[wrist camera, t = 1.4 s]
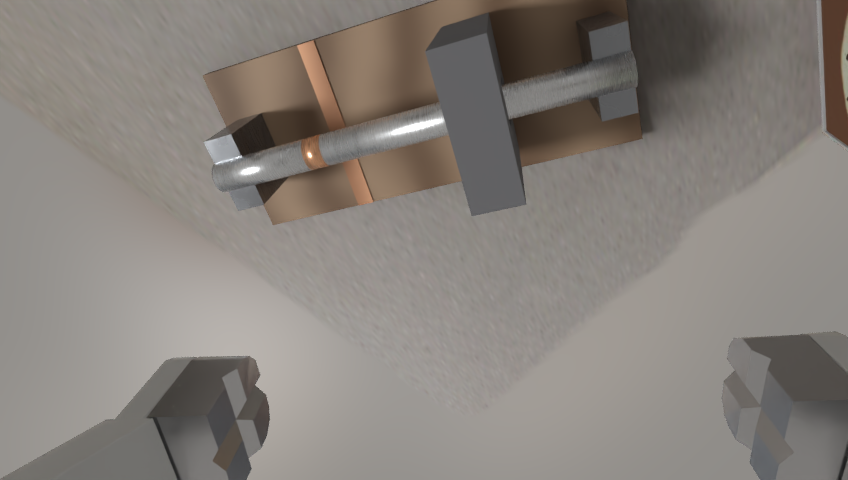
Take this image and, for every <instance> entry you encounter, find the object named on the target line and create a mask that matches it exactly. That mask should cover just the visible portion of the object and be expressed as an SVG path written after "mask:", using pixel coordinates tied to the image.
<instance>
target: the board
mask: <svg viewBox="0 0 848 480" xmlns="http://www.w3.org/2000/svg"><path fill="white" fill-rule="evenodd" d="M608 11H611V12H612V13H614V14H616V15H618V16H620V17H622V18H623V19H625V20H627V21H628V27H629V19H628V11H627V2H626V0H435V1H431V2H428V3H425V4H422V5H419V6H416V7H413V8H410V9H406V10H403V11H400V12H397V13H394V14H391V15H388V16H385V17H382V18H378V19H375V20H372V21H369V22H366V23H363V24H360V25H357V26H354V27H350V28H347V29H344V30H341V31H338V32H335V33H332V34H329V35H326V36H322V37H319V38H316V39H313V40H310V41H307V42H304V43H301V44H298V45H294V46H291V47H288V48H285V49H282V50H279V51H276V52H273V53H270V54H266V55H263V56H260V57H257V58H254V59H251V60H248V61H245V62H241V63H238V64H235V65H232V66H229V67H226V68H223V69H220V70H217V71H213V72H210V73H208V74H205V75H203V78H204V80H205V82H206V84H207V86H208V89H209V91H210V93H211V95H212V97H213V99H214V101H215V103H216V105H217V108H218V110H219V112H220V114H221V116H222V118H223V120H224V122H225V124H226V127H227V126H229V125H230V124H232V123H233V122H235V121H236V120H239V119H242V118H246V117H249V116H252V115H256V114H259V113H262V115H263V118H264V120H265V122H266V125H267V127H268V129H269V131H270V134H271V136H272V138H273V141H274V143H275V145H276V146H280V145H283V144H287V143H291V142H294V141H298V140H302V139H305V138H309V137H313V136H316V135H320V134H324V133H327V132H331V131H335V130H338V129H342V128H346V127H349V126H353V125H357V124H360V123H364V122H368V121H371V120H375V119H379V118H382V117H386V116H390V115H393V114H397V113H401V112H404V111H408V110H412V109H415V108H419V107H422V106H426V105H430V104H433V103H437V102H439V99H438V95H437V92H436V88H435V85H434V81H433V78H432V74H431V71H430V67H429V64H428V60H427V57H426V53H425V51H426V49H427V48H428V46H429V45H430V43H431V42H432V40H433V39H434V37H435V36H436V34H437V33H438V31H439V30H440V28H441V27H443V26H446V25H449V24H453V23H456V22H459V21H462V20H466V19H469V18H472V17H475V16H479V15H482V14H485V13H488V12H489V17H490V21H491V26H492V30H493V35H494V39H495V43H496V48H497V52H498V57H499V61H500V66H501V70H502V74H503V79H504V83H505V84H507V83H510V82H514V81H518V80H521V79H525V78H529V77H532V76H536V75H540V74H543V73H547V72H551V71H554V70H558V69H562V68H565V67H569V66H573V65H576V64H580V63H583V62H582V55H581V49H580V43H579V36H578V30H577V24H576V21H577V20H581V19H584V18H588V17H591V16H595V15H598V14H601V13H605V12H608ZM629 35H630V28H629ZM630 44H631V37H630ZM631 50H632V45H631ZM636 95H637V88H636ZM637 104H638V97H637ZM638 112H639V105H638ZM513 123H514V128H515V132H516V137H517V141H518V145H519V150H520V159H521V167H524V166H528V165H532V164H536V163H541V162H545V161H549V160H554V159H558V158H562V157H566V156H571V155H575V154H579V153H583V152H588V151H592V150H596V149H601V148H605V147H609V146H613V145H618V144H622V143H626V142H631V141H635V140H639V139H642V131H641V123H640V114H639V113H635V114H631V115H627V116H623V117H619V118H615V119H611V120H607V121H601V119H600V118H599V116H598V114H597V113H596V111H595V110H594V108H593V106H592V105H591V103H590V101H589V100H584V101H580V102H576V103H572V104H568V105H565V106H561V107H557V108H553V109H549V110H545V111H541V112H537V113H533V114H529V115H526V116H522V117H518V118H514V119H513ZM459 181H462V180H461V176H460V173H459V169H458V166H457V162H456V159H455V155H454V152H453V148H452V145H451V141H450V137H449V135H448V136H444V137H440V138H436V139H432V140H428V141H424V142H420V143H416V144H412V145H409V146H405V147H401V148H397V149H393V150H389V151H385V152H381V153H377V154H373V155H370V156H366V157H362V158H358V159H354V160H350V161H346V162H342V163H338V164H334V165H331V166H327V167H323V168H319V169H315V170H311V171H307V172H303V173H299V174H295V175H292V176H289V177H288V178H287V180H286V181H285V182H284V183H283V184H282V185H281V186H280V187H279V188H278V190H277V191H276V192H275V193H274V194H273V195H272V196H271V197H270V198H269V200H268V201H267V202H266V203H265V204H264V207H265V209H266V211H267V213H268V215H269V217H270V219H271V221H272V224H273V225H275V224H280V223H284V222H288V221H292V220H297V219H301V218H305V217H310V216H314V215H318V214H322V213H327V212H331V211H335V210H340V209H344V208H348V207H352V206H357V205H363V204H367V203H371V202H374V201H378V200H382V199H387V198H391V197H395V196H399V195H404V194H408V193H412V192H417V191H421V190H425V189H429V188H434V187H438V186H442V185H447V184H451V183H455V182H459Z"/></svg>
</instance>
